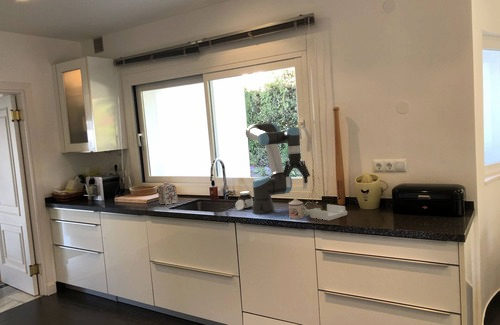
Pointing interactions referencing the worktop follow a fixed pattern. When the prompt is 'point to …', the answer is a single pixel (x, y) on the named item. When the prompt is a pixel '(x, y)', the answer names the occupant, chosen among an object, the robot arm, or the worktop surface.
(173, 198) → the decorative jar
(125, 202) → the worktop surface
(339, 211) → the end holder
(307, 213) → the clip
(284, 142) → the robot arm
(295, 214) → the teacup with lid
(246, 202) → the spread jar
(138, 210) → the worktop surface
